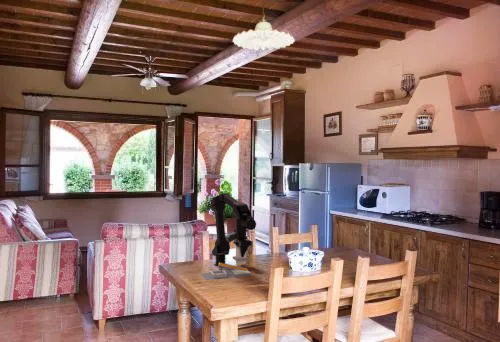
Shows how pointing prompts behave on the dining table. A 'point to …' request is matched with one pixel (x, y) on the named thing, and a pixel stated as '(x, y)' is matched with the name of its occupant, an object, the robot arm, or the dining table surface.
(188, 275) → the dining table surface
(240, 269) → the clip
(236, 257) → the plug
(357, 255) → the dining table surface
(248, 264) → the candy box
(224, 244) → the robot arm
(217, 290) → the dining table surface
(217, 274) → the socket board
